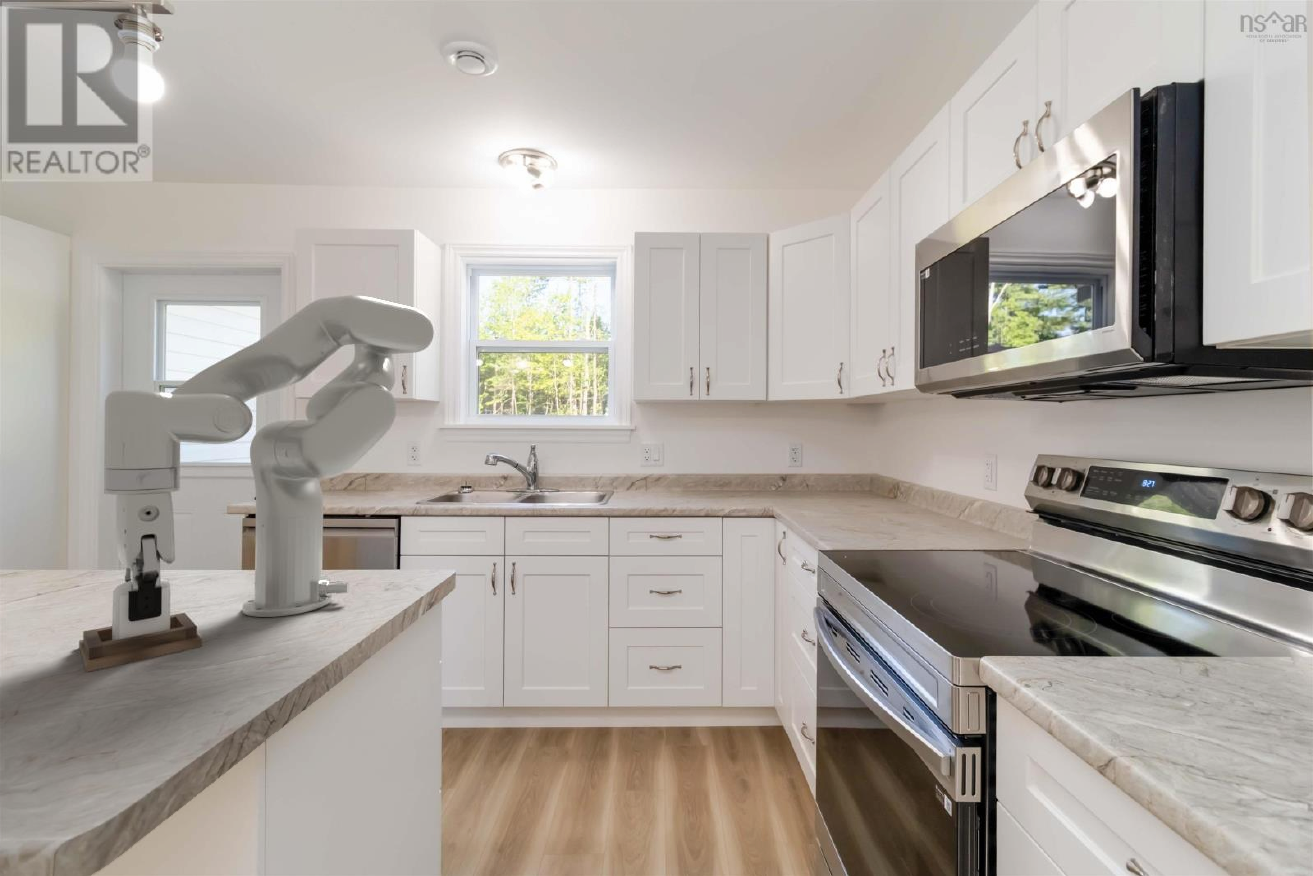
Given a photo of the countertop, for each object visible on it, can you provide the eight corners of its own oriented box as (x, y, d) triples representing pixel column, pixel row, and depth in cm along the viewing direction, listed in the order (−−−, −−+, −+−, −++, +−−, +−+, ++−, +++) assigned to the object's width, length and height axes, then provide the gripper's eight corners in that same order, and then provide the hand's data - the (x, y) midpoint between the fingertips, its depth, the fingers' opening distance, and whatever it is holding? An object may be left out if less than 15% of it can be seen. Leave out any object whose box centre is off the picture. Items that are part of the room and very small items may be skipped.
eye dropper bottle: (163, 642, 73) (165, 554, 73) (107, 649, 71) (108, 558, 70) (173, 631, 77) (174, 547, 77) (120, 637, 74) (121, 551, 74)
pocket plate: (185, 626, 82) (185, 610, 82) (201, 646, 75) (201, 628, 75) (79, 648, 73) (79, 629, 73) (86, 672, 66) (86, 651, 66)
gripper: (192, 484, 71) (190, 622, 72) (168, 475, 82) (167, 595, 82) (111, 487, 66) (110, 637, 66) (97, 478, 76) (96, 607, 77)
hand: (142, 612), depth 74 cm, fingers open, 4 cm apart
